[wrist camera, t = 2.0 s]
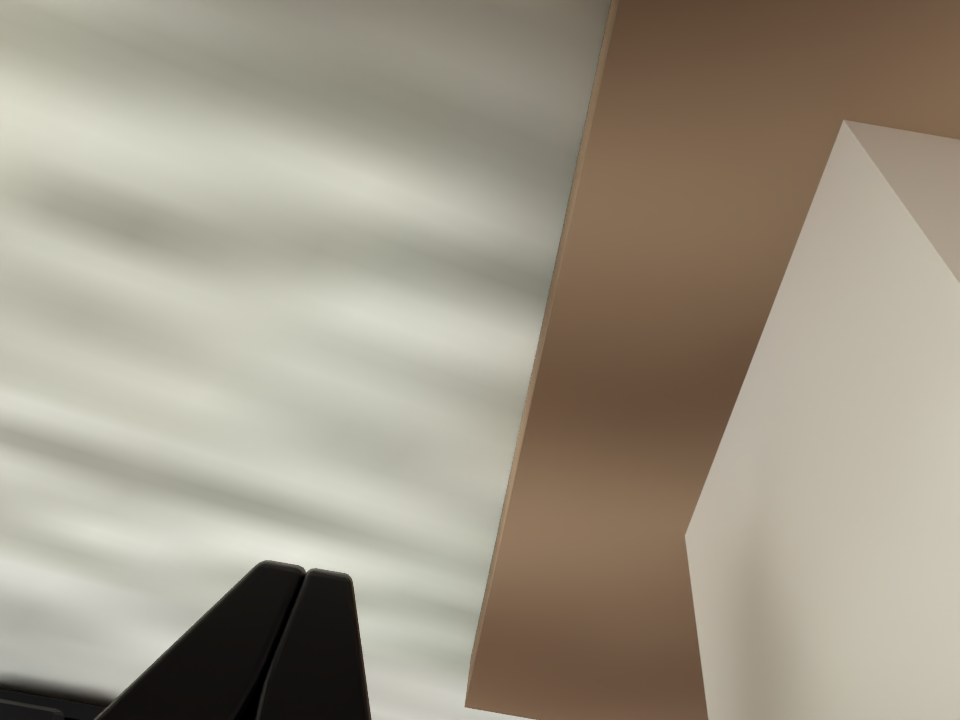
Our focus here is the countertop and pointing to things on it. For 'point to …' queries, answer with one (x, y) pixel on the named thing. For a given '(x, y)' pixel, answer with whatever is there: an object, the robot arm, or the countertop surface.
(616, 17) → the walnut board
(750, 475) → the glazed tile
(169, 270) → the countertop surface
